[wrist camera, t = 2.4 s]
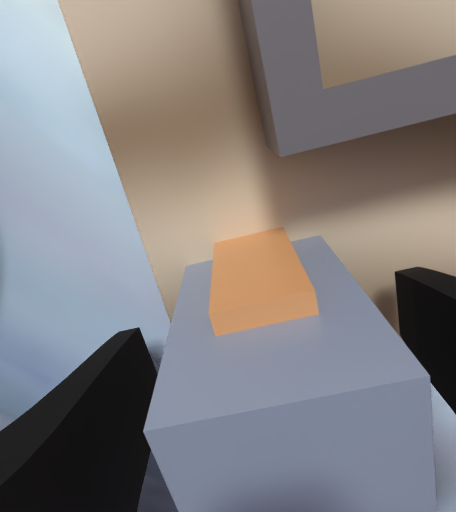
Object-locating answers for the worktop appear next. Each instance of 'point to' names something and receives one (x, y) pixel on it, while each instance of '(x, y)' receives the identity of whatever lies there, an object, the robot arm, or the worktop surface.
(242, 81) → the board
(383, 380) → the plug
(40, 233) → the worktop surface
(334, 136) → the frame
